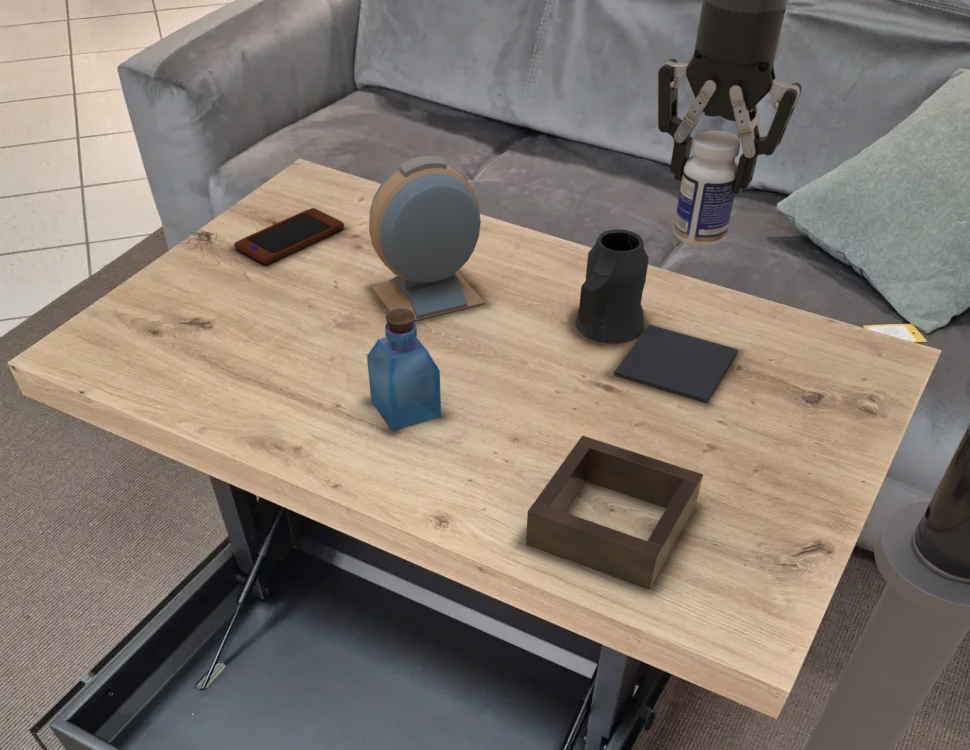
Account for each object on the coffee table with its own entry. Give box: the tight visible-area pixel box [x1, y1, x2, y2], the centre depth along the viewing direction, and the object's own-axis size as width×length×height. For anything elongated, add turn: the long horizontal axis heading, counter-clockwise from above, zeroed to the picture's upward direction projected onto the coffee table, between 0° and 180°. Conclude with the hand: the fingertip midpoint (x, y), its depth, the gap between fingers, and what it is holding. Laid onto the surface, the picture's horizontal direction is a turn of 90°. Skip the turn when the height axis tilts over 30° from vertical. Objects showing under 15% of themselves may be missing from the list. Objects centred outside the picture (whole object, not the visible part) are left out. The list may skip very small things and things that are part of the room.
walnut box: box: [525, 435, 704, 590], centre depth 96 cm, size 14×14×4 cm
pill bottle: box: [673, 130, 742, 248], centre depth 98 cm, size 6×6×10 cm
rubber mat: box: [613, 324, 739, 404], centre depth 117 cm, size 12×12×1 cm
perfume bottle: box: [366, 309, 442, 432], centre depth 106 cm, size 6×6×12 cm
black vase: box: [574, 228, 649, 344], centre depth 117 cm, size 12×9×11 cm
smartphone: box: [233, 207, 345, 265], centre depth 135 cm, size 7×1×15 cm
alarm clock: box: [368, 155, 485, 322], centre depth 119 cm, size 14×10×18 cm
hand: (709, 183), depth 98 cm, fingers closed on pill bottle, 5 cm apart
